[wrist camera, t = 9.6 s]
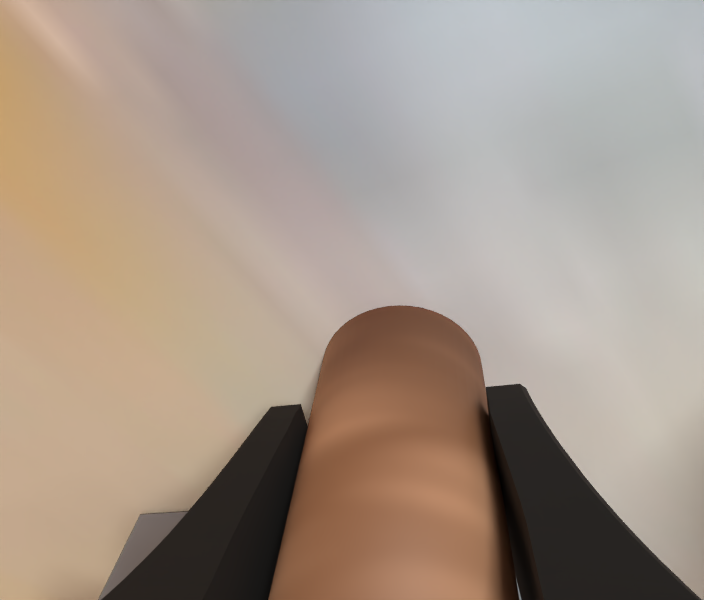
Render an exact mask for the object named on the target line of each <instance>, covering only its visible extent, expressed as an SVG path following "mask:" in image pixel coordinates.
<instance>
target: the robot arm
mask: <svg viewBox="0 0 704 600" xmlns="http://www.w3.org/2000/svg"><path fill="white" fill-rule="evenodd" d="M486 395H487V405H488V414H489V421H490V427H491V434H492V440H493V446H494V452H495V458H496V462H497V467H498V471H499V477H500V483H501V488H502V494H503V501H504V507H505V513H506V519H507V525H508V532H509V538H510V544H511V550H512V556H513V563H514V569H515V575H516V579H517V584H518V588H519V592H520V596H521V600H702V599H700V598H699V597H698V596H697V595H696V594H695V593H694V592H693V591H692V590H691V589H690V588H689V587H687V586H686V585H685V584H684V583H683V582H682V581H681V580H680V579H679V578H678V577H677V576H676V575H675V574H674V573H673V572H672V571H671V570H670V569H669V568H668V567H667V566H666V565H664V564H663V563H662V562H661V561H660V560H659V559H658V557H657V556H656V555H655V554H654V553H653V552H652V551H651V550H650V549H649V548H648V547H647V546H646V545H645V544H644V543H643V542H642V541H641V540H640V539H639V538H638V537H637V536H636V535H635V534H634V533H633V532H632V531H631V530H630V529H629V527H628V526H627V525H626V524H625V523H624V522H623V521H622V520H621V519H620V518H619V516H618V515H617V514H616V513H615V512H614V511H613V510H612V508H611V507H610V506H609V505H608V504H607V503H606V501H605V500H604V499H603V498H602V497H601V496H600V495H599V493H598V492H597V491H596V490H595V489H594V487H593V486H592V485H591V484H590V482H589V481H588V480H587V479H586V478H585V476H584V475H583V474H582V472H581V471H580V470H579V468H578V467H577V466H576V465H575V463H574V462H573V461H572V459H571V458H570V457H569V455H568V454H567V453H566V451H565V450H564V449H563V447H562V446H561V445H560V443H559V442H558V440H557V439H556V438H555V436H554V435H553V433H552V432H551V430H550V429H549V427H548V426H547V424H546V423H545V421H544V420H543V418H542V416H541V415H540V413H539V411H538V410H537V408H536V406H535V405H534V403H533V401H532V399H531V397H530V395H529V393H528V391H527V389H526V388H525V387H523V386H522V385H521V384H514V385H503V386H492V387H486ZM307 428H308V426H307V423H306V420H305V416H304V413H303V410H302V407H301V404H298V405H287V406H276V407H271V408H270V409H269V410H268V412H267V413H266V414H265V415H264V417H263V418H262V419H261V420H260V422H259V423H258V424H257V426H256V427H255V428H254V429H253V431H252V432H251V433H250V435H249V436H248V437H247V439H246V440H245V441H244V443H243V444H242V445H241V447H240V448H239V449H238V451H237V452H236V453H235V454H234V456H233V457H232V458H231V460H230V461H229V462H228V464H227V465H226V466H225V467H224V469H223V470H222V471H221V472H220V474H219V475H218V476H217V477H216V479H215V480H214V481H213V482H212V484H211V485H210V486H209V487H208V489H207V490H206V491H205V492H204V494H203V495H202V496H201V497H200V498H199V500H198V501H197V502H196V503H195V504H194V505H193V506H192V508H191V509H190V510H189V511H188V512H187V513H186V514H185V516H184V517H183V518H182V519H181V520H180V521H179V523H178V524H177V525H176V526H175V527H174V528H173V529H172V531H171V532H170V533H169V534H168V535H167V536H166V537H165V538H164V539H163V540H162V541H161V542H160V543H159V545H158V546H157V547H156V548H155V549H154V550H153V551H152V552H151V553H150V554H149V555H148V556H147V557H146V558H145V559H144V560H143V561H142V562H141V563H140V564H139V565H138V566H137V567H136V568H135V569H134V570H133V571H132V572H131V573H130V574H129V575H128V576H126V577H125V578H124V579H123V580H122V581H121V582H120V583H119V584H118V585H117V586H116V587H115V588H114V589H113V590H111V591H110V592H109V593H108V594H107V595H106V596H105V597H104V598H102V599H101V600H268V598H269V594H270V590H271V585H272V581H273V577H274V572H275V568H276V563H277V559H278V555H279V550H280V546H281V542H282V537H283V533H284V529H285V524H286V520H287V515H288V511H289V507H290V502H291V498H292V494H293V489H294V485H295V481H296V476H297V472H298V467H299V463H300V459H301V454H302V450H303V446H304V441H305V437H306V433H307Z"/></svg>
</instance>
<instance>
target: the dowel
mask: <svg viewBox="0 0 704 600" xmlns="http://www.w3.org/2000/svg"><path fill="white" fill-rule="evenodd" d="M268 600H519V594H518V587H517V581H516V575H515V569H514V563H513V556H512V550H511V544H510V538H509V532H508V525H507V519H506V513H505V507H504V501H503V494H502V488H501V483H500V477H499V471H498V467H497V462H496V458H495V452H494V446H493V440H492V434H491V427H490V421H489V414H488V405H487V395H486V389H485V383H484V377H483V370H482V364H481V359H480V355H479V353H478V350H477V348H476V346H475V344H474V342H473V341H472V339H471V338H470V337H469V335H468V334H467V333H466V332H465V331H464V330H463V329H462V328H461V327H460V326H459V325H457V324H456V323H455V322H453V321H452V320H450V319H448V318H447V317H445V316H443V315H441V314H438V313H436V312H434V311H431V310H427V309H424V308H419V307H413V306H387V307H382V308H377V309H373V310H370V311H367V312H365V313H362V314H360V315H358V316H356V317H354V318H353V319H351V320H349V321H348V322H347V323H346V324H344V325H343V326H342V327H341V328H340V329H339V330H338V331H337V332H336V333H335V334H334V336H333V337H332V339H331V340H330V342H329V344H328V346H327V348H326V351H325V355H324V358H323V363H322V367H321V371H320V376H319V380H318V384H317V389H316V393H315V398H314V402H313V406H312V411H311V415H310V419H309V424H308V428H307V433H306V437H305V441H304V446H303V450H302V454H301V459H300V463H299V467H298V472H297V476H296V481H295V485H294V489H293V494H292V498H291V502H290V507H289V511H288V515H287V520H286V524H285V529H284V533H283V537H282V542H281V546H280V550H279V555H278V559H277V563H276V568H275V572H274V577H273V581H272V585H271V590H270V594H269V598H268Z"/></svg>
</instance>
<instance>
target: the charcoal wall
mask: <svg viewBox="0 0 704 600" xmlns="http://www.w3.org/2000/svg"><path fill="white" fill-rule="evenodd" d="M186 513H187V512H172V513H155V514H140V516H139V518H138V520H137V522H136V524H135V526H134V528H133V530H132V532H131V534H130V536H129V538H128V540H127V542H126V544H125V546H124V548H123V550H122V552H121V554H120V556H119V558H118V560H117V562H116V565H115V567H114V569H113V571H112V573H111V575H110V577H109V579H108V581H107V583H106V585H105V587H104V589H103V591H102V593H101V595H100V597H99V599H98V600H101V599H102V598H104V597H105V596H106V595H107V594H108V593H109V592H110V591H111V590H113V589H114V588H115V587H116V586H117V585H118V584H119V583H120V582H121V581H122V580H123V579H124V578H125V577H126V576H128V575H129V574H130V573H131V572H132V571H133V570H134V569H135V568H136V567H137V566H138V565H139V564H140V563H141V562H142V561H143V560H144V559H145V558H146V557H147V556H148V555H149V554H150V553H151V552H152V551H153V550H154V549H155V548H156V547H157V546H158V545H159V543H160V542H161V541H162V540H163V539H164V538H165V537H166V536H167V535H168V534H169V533H170V532H171V531H172V529H173V528H174V527H175V526H176V525H177V524H178V523H179V521H180V520H181V519H182V518H183V517H184V516H185V514H186Z"/></svg>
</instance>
